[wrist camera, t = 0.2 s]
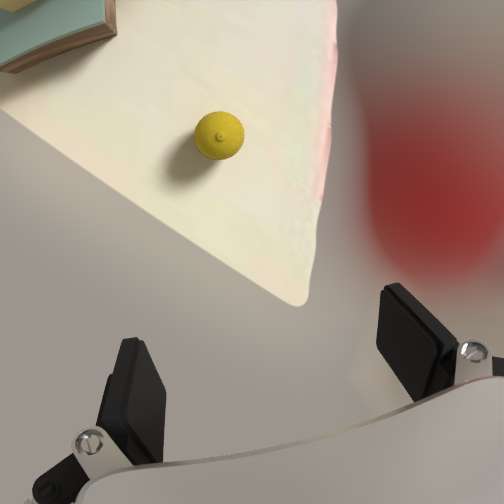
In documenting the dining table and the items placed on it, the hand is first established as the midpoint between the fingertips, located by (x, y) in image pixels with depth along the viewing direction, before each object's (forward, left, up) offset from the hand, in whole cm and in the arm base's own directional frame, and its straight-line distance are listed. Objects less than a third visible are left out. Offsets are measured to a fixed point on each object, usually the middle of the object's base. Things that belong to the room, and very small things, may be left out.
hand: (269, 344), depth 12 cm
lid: (-30, -19, -25) cm, 44 cm away
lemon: (-6, 0, -31) cm, 32 cm away
